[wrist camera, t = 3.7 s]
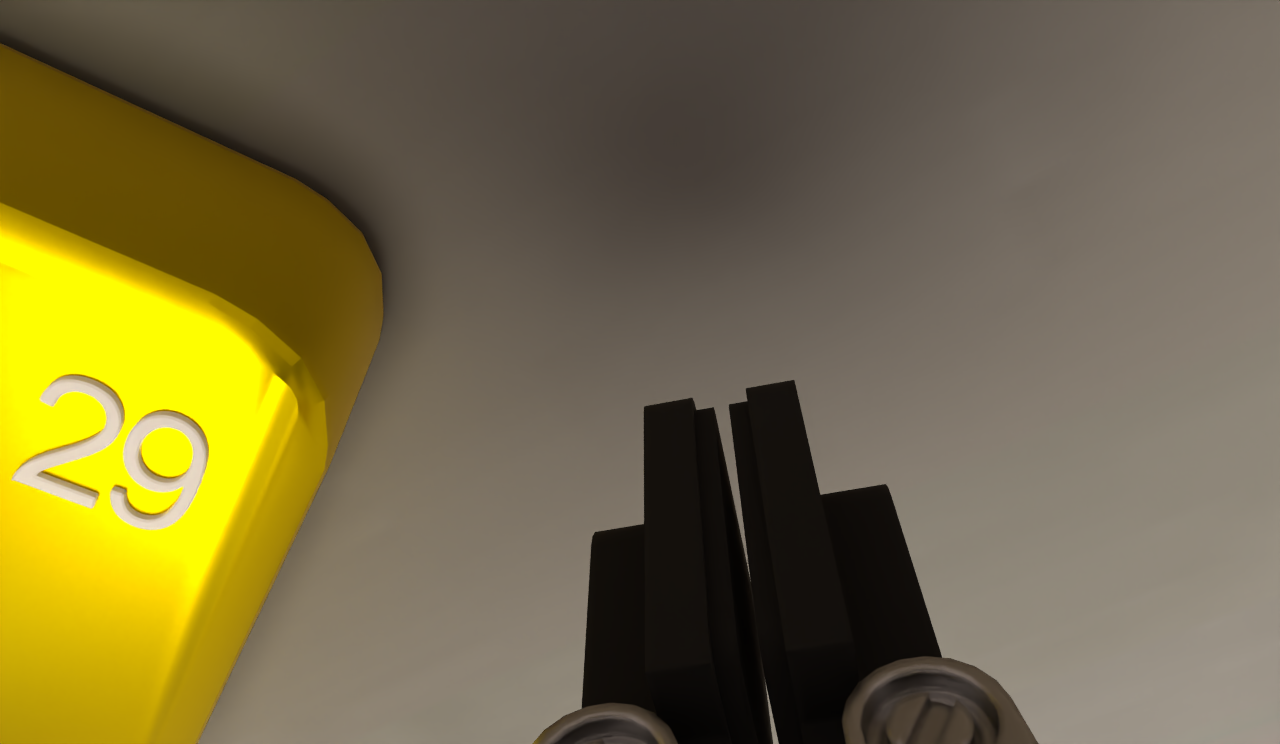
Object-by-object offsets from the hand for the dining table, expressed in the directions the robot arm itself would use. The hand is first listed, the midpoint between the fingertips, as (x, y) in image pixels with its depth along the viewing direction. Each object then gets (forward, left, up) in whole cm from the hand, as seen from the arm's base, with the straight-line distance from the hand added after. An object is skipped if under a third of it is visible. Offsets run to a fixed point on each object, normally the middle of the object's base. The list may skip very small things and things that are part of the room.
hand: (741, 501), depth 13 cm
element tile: (0, -15, -7) cm, 16 cm away
